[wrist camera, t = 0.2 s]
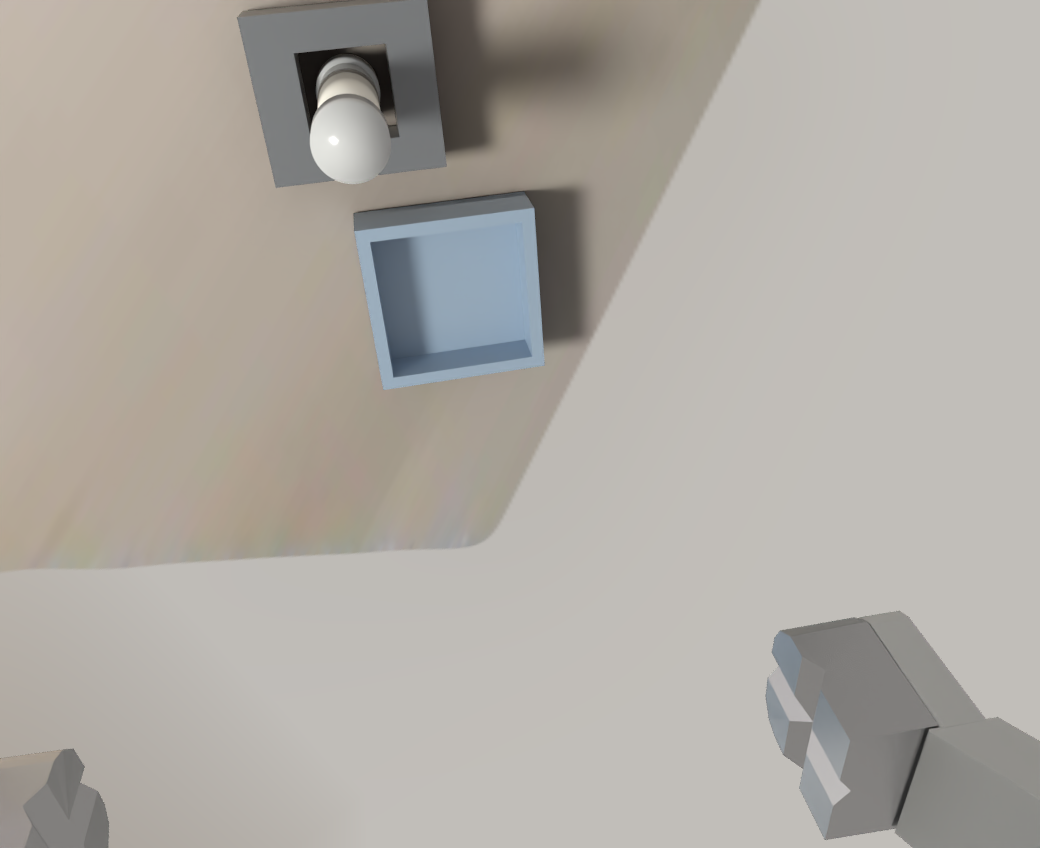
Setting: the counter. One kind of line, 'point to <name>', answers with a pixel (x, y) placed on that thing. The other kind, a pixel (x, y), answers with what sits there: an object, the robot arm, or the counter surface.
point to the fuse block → (358, 22)
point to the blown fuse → (349, 121)
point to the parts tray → (452, 288)
